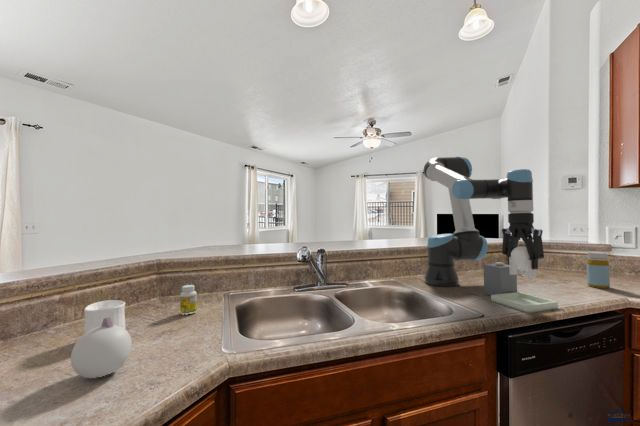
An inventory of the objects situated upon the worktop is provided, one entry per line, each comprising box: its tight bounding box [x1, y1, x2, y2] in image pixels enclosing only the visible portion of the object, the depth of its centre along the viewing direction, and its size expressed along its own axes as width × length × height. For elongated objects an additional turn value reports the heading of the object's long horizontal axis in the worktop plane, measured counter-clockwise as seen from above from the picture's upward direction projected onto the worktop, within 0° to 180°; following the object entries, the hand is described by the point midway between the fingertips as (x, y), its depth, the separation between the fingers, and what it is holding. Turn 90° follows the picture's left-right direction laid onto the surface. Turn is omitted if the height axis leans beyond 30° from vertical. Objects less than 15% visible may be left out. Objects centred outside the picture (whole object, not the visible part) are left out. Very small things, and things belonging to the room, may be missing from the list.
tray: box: [490, 291, 559, 314], centre depth 102 cm, size 14×14×2 cm
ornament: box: [70, 317, 133, 379], centre depth 61 cm, size 10×10×12 cm
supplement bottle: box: [179, 284, 198, 313], centre depth 100 cm, size 5×5×10 cm
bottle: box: [586, 251, 611, 289], centre depth 124 cm, size 7×7×15 cm
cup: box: [83, 299, 126, 335], centre depth 79 cm, size 10×10×10 cm
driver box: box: [482, 261, 518, 296], centre depth 115 cm, size 8×8×13 cm
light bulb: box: [511, 246, 530, 278], centre depth 102 cm, size 7×7×11 cm
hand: (522, 276), depth 102 cm, fingers closed on light bulb, 6 cm apart
